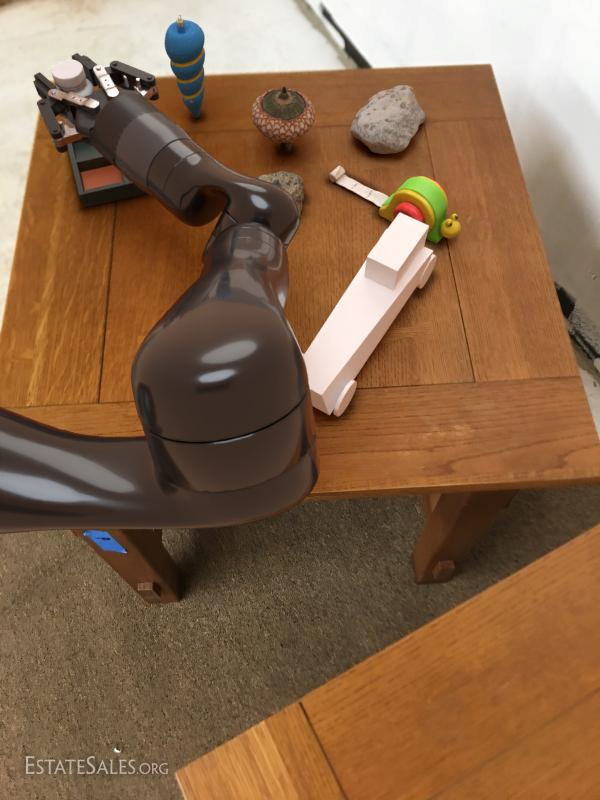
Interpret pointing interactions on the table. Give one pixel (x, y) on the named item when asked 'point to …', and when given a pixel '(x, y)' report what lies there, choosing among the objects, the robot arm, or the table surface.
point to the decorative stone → (388, 120)
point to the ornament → (187, 61)
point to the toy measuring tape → (409, 203)
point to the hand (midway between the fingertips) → (57, 71)
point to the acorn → (283, 116)
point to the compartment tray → (98, 177)
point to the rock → (287, 184)
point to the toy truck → (367, 312)
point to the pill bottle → (71, 80)
